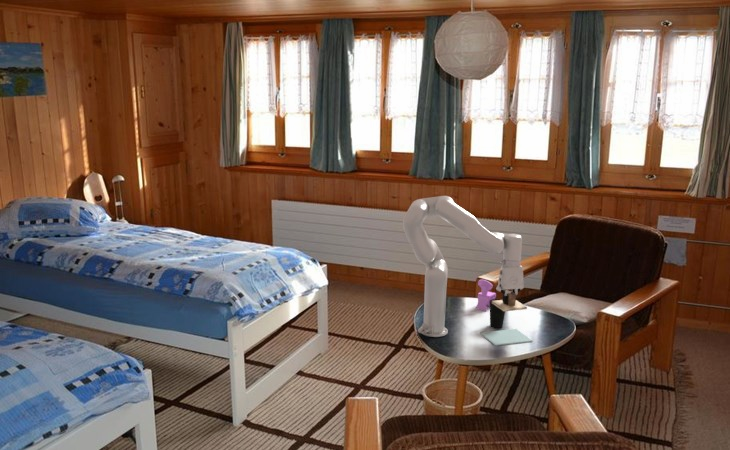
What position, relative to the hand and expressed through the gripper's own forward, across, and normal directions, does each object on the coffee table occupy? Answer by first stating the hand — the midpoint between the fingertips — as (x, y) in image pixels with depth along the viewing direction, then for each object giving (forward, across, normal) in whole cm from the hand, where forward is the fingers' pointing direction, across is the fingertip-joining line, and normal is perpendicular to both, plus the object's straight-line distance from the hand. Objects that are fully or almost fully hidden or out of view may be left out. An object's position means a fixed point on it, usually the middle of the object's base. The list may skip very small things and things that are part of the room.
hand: (509, 302), depth 285 cm
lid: (+1, 0, 0) cm, 1 cm away
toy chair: (+16, +9, +38) cm, 42 cm away
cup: (+16, +2, +13) cm, 21 cm away
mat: (+16, 0, 0) cm, 16 cm away
